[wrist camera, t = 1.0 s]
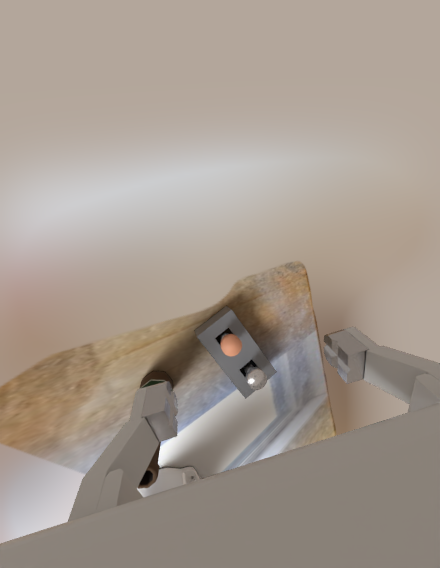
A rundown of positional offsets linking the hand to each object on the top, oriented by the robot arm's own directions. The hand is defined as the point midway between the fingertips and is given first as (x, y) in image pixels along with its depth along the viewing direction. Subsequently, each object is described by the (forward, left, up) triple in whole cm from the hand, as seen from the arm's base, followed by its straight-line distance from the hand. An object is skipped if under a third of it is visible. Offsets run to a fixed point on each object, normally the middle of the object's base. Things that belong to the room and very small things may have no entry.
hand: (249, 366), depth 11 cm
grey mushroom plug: (-24, 0, -39) cm, 46 cm away
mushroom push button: (-14, 0, -39) cm, 42 cm away
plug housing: (-19, 0, -43) cm, 47 cm away
